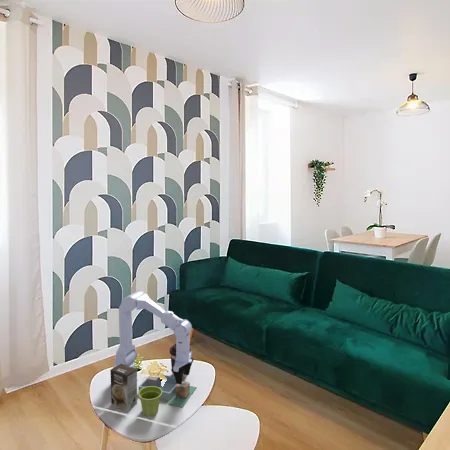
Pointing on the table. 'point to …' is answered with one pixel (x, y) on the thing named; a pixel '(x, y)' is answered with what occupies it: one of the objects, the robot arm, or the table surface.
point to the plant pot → (150, 399)
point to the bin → (165, 387)
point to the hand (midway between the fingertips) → (182, 379)
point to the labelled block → (183, 390)
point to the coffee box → (123, 387)
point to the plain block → (153, 381)
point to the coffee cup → (174, 357)
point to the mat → (181, 399)
